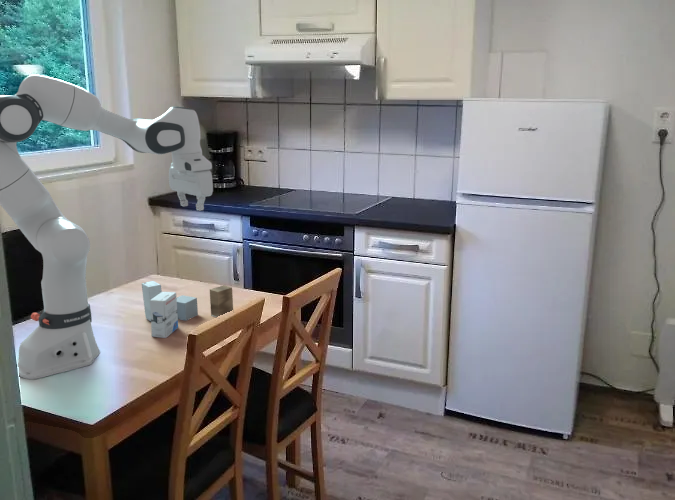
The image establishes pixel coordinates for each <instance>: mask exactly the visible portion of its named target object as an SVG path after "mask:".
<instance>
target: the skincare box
mask: <svg viewBox="0 0 675 500" xmlns="http://www.w3.org/2000/svg"><path fill="white" fill-rule="evenodd" d="M141 289H142V299H143V306H144V314H145V315H144V316H145V319H146V320H148V321H149V322H151V312H150V300H151V299H152V298H154V297H155V296H157V295H158V294H160V293H161V292H163V290H162V285H161V284H160V283H158V282H156V281H155V280H151V281H145V282H142V283H141Z"/></svg>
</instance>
